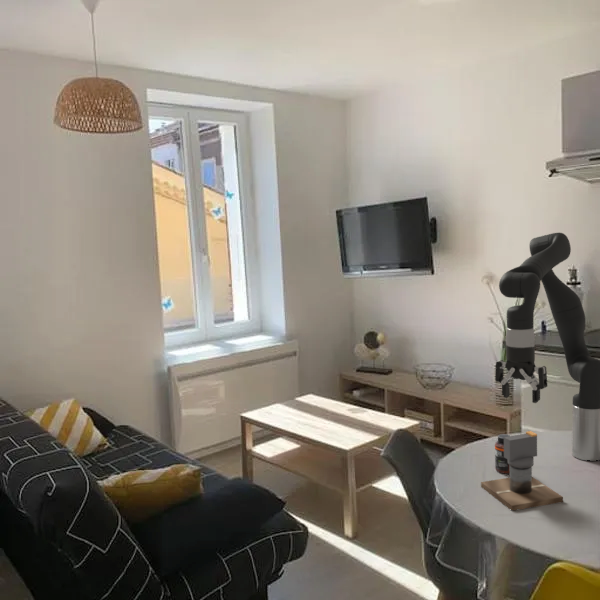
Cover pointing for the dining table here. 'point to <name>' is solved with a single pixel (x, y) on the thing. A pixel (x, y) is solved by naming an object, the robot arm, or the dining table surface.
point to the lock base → (521, 498)
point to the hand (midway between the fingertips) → (520, 399)
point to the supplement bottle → (501, 455)
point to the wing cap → (521, 449)
